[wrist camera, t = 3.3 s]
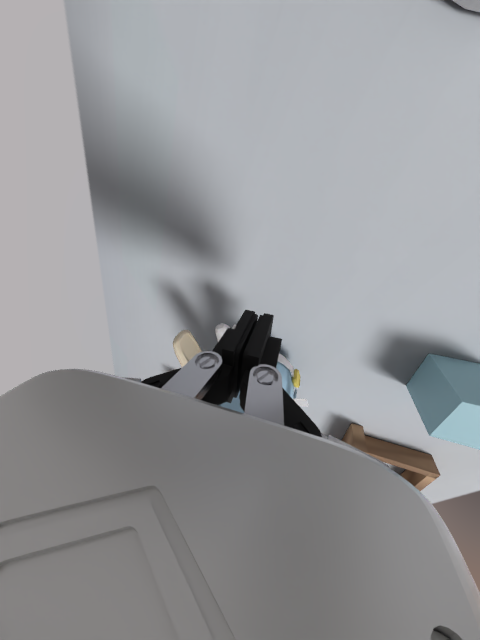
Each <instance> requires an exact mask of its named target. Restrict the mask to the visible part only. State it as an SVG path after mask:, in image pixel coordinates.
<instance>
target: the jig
mask: <svg viewBox="0 0 480 640" xmlns="http://www.w3.org/2000/svg"><path fill="white" fill-rule="evenodd" d="M341 441H343V442H345V443H347V444H349V445H351V446H353V447H355V448H357V449H359V450H361V451H363V452H365V453H367V454H369V455H371V456H373V457H375V458H377V459H379V460H380V461H382V462H385V463H388V464H391V465H394V466H398V467H401V468H404V469H406V470H405V471H404V472H403V473H402V474H401V475H400V476H402V477H403V478H404V479H406V480H407V481H408V482H410V483H411V484H412V485H413V486H414V487H415V488H417V489H418V490H419V491H421V490H422V489H424V488H425V487H426V486H427V485H429V484H430V483H431V482H432V481H434V480H435V479H436V478H438V477H439V476H440V473H439V471H438V469H437V466H436V464H435V462H434V460H433V457H432V455H429V454H426V453H422V452H419V451H416V450H412V449H409V448H406V447H402V446H399V445H396V444H392V443H389V442H385V441H382V440H379V439H375V438H372V437H369V436H365V435H364V430H363V426H360V425H356V424H353V423H351V425H350V427H349V428H348V430H347V432H346V433H345V435H344V437H343V439H342V440H341Z"/></svg>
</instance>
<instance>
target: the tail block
mask: <svg viewBox="0 0 480 640" xmlns="http://www.w3.org/2000/svg"><path fill="white" fill-rule="evenodd" d="M406 386H407V388H408V391H409V393H410V395H411V397H412V399H413V401H414V404H415V406H416V408H417V410H418V412H419V414H420V416H421V419H422V421H423V423H424V425H425V427H426V429H427V432H428V434H429V436H432V437H436V438H440V439H443V440H447V441H450V442H454V443H458V444H461V445H465V446H468V447H472V448H476V449H479V450H480V364H479V363H474V362H469V361H464V360H459V359H454V358H449V357H444V356H439V355H434V354H428V355H427V357H426V358H425V359H424V361H423V362H422V364H421V365H420V367H419V368H418V369H417V371H416V372H415V374H414V375H413V377H412V378H411V379H410V381H409V382H408V384H407V385H406Z"/></svg>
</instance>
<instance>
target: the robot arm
mask: <svg viewBox="0 0 480 640" xmlns="http://www.w3.org/2000/svg"><path fill="white" fill-rule="evenodd" d="M452 1H454V2H455V3H457V4H458V5H460V6H461V7H463V8H464V9H468V10H472V11H476V12H480V0H452ZM257 319H258V315H257V314H255V312H254V311H249V310H245V311H244V313H243V315H242V316H241V318H240V320H239V321H238V323H237V325H236V326H235V328H234V329H232V328H227V330H226V331H225V333H224V334H223V336H222V337H221V339H220V340H219V342H218V343H217V345H216V346H215V348H214V349H213V351H203V352H200V353H198V354H196V355H195V356H194V357H193V358H192V359H191V360H190V361H189V362H188V363H187V364H186V365H184V366H183V367H182V368H180V369H176V370H173V371H170V372H166V373H163V374H160V375H156V376H153V377H150V378H147V379H145V380H144V381H141V379H136V378H123V377H118V376H115V375H111V374H107V373H102V372H98V371H92V370H83V369H65V370H55V371H49V372H46V373H42V374H40V375H38V376H35V377H33V378H32V379H30V380H28V381H26V382H24V383H22V384H20V385H19V386H17V387H15V388H13V389H12V390H10V391H8V392H7V393H5V394H3V395H2V396H0V640H480V593H479V591H478V588H477V586H476V584H475V582H474V580H473V577H472V576H471V573H470V571H469V569H468V567H467V565H466V563H465V561H464V558H463V556H462V555H461V553H460V551H459V549H458V546H457V545H456V543H455V541H454V539H453V537H452V535H451V533H450V531H449V530H448V528H447V526H446V525H445V523H444V521H443V520H442V518H441V517H440V515H439V514H438V512H437V511H436V509H435V508H434V507H433V505H432V504H431V503H430V502H429V500H428V499H427V498H426V497H425V496H424V495H423V494H422V493H421V492H420V491H419V490H418V489H417V488H415V487H414V486H413V485H412V484H411V483H410V482H408V481H407V480H406V479H404V478H403V477H402V476H400V475H399V474H397V473H396V472H394V471H393V470H392V469H391V468H390V467H389V466H388V465H386V464H385V463H383V462H382V461H380V460H379V459H377V458H375V457H373V456H371V455H369V454H367V453H365V452H363V451H361V450H359V449H357V448H355V447H353V446H351V445H349V444H347V443H345V442H343V441H341V440H339V439H337V438H335V437H333V436H331V435H329V436H328V437H327V436H325V435H323V434H321V432H320V430H319V429H318V427H317V426H316V425H315V424H314V423H313V421H312V420H311V419H310V418H309V417H308V416H307V415H306V414H305V412H304V411H303V410H302V409H301V408H300V407H299V406H298V404H297V403H296V402H295V401H294V400H293V399H292V398H291V397H290V395H289V394H288V393H287V392H286V391H285V390H284V389H283V387H282V376H281V373H280V372H279V370H277V369H276V366H277V362H278V357H279V352H280V347H281V341H282V339H279V338H275V337H270V335H271V329H272V323H273V315H270V314H265V313H264V315H260V317H259V319H258V321H257ZM239 391H240V395H239V399H240V406H241V408H242V410H243V411H244V413H241V412H238V411H235V410H231V409H228V408H225V407H221V404H223V403H225V402H228V403H231V402H232V399H233V397H234V398H237V396H238V393H239Z"/></svg>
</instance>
